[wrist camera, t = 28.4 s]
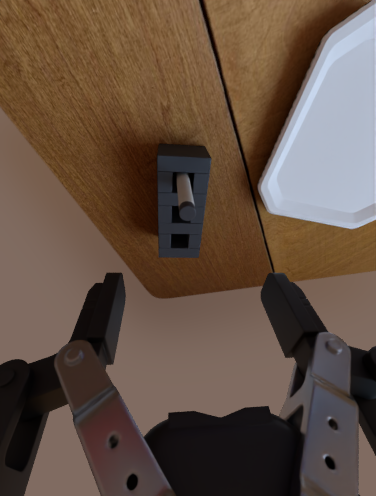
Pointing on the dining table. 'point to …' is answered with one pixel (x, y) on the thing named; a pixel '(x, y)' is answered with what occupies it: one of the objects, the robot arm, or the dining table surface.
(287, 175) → the plate
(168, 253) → the pen block
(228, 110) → the dining table surface
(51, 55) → the dining table surface
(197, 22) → the dining table surface
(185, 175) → the stylus
